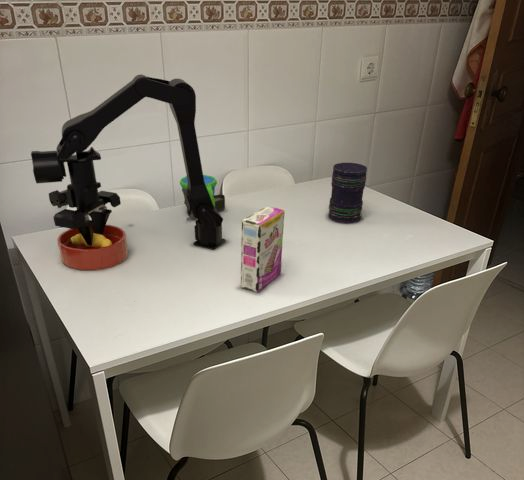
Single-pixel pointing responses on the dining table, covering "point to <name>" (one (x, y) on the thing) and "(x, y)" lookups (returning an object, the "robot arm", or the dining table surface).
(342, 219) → the storage jar
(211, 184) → the snack cup
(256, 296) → the dining table surface
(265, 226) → the candy bar box
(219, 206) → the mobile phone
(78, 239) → the banana
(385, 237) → the dining table surface
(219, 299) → the dining table surface
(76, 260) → the bowl
